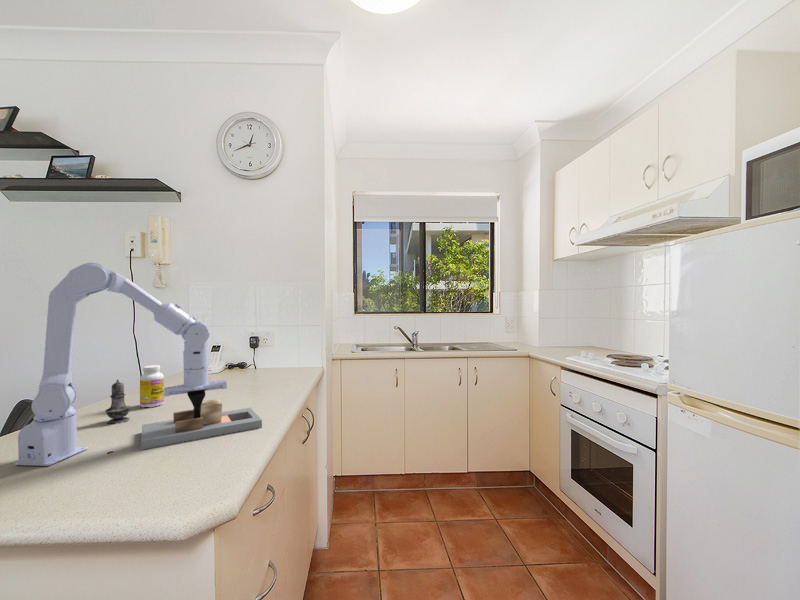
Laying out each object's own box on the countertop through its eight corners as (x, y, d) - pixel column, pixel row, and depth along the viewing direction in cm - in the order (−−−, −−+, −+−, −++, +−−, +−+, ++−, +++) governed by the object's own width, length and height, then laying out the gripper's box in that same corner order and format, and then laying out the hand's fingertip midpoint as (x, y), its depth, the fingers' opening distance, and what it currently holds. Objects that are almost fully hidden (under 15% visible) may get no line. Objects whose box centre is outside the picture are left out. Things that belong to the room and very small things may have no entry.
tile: (208, 432, 101) (208, 425, 101) (205, 425, 107) (205, 418, 107) (231, 428, 104) (231, 421, 104) (227, 421, 110) (227, 415, 110)
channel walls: (175, 432, 95) (175, 422, 95) (173, 421, 104) (173, 412, 104) (203, 428, 99) (202, 418, 99) (198, 417, 107) (198, 408, 107)
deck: (141, 449, 90) (141, 441, 90) (142, 432, 102) (142, 424, 102) (261, 427, 105) (261, 419, 105) (250, 414, 117) (250, 407, 117)
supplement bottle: (150, 409, 124) (149, 368, 124) (135, 407, 126) (134, 367, 126) (168, 403, 130) (168, 364, 130) (153, 402, 132) (153, 364, 132)
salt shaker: (135, 418, 115) (135, 377, 114) (119, 424, 109) (118, 381, 109) (117, 417, 115) (116, 377, 115) (100, 424, 109) (99, 381, 109)
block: (200, 424, 101) (201, 405, 101) (198, 419, 105) (199, 401, 105) (221, 422, 103) (222, 403, 103) (218, 417, 108) (219, 399, 108)
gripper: (164, 373, 95) (165, 428, 95) (228, 366, 103) (229, 418, 103) (163, 369, 101) (164, 421, 101) (224, 363, 109) (224, 411, 109)
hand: (196, 419), depth 103 cm, fingers closed, pressing on block
